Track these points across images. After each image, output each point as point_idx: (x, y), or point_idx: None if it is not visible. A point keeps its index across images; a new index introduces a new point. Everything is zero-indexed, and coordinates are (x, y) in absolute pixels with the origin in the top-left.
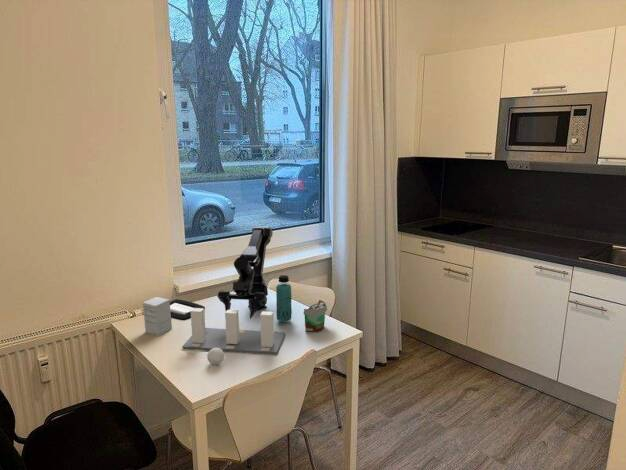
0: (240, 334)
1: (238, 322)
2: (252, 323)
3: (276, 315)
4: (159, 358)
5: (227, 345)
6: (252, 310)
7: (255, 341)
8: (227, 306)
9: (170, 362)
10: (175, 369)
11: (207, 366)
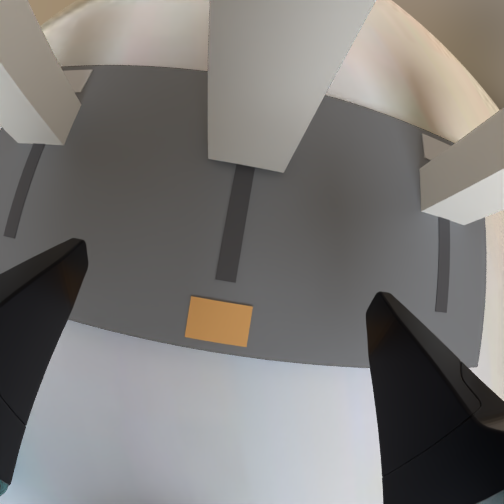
0: (212, 267)
1: (210, 55)
2: (158, 477)
3: (4, 483)
4: (490, 113)
5: None
6: (8, 279)
7: (104, 157)
8: (451, 380)
9: (452, 78)
10: (415, 37)
11: None
